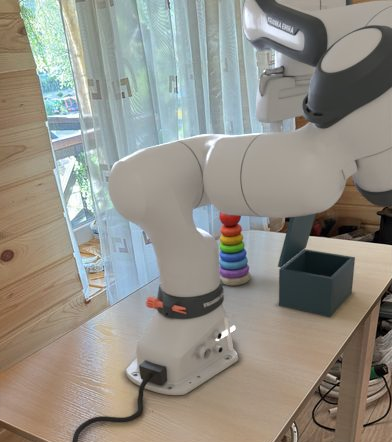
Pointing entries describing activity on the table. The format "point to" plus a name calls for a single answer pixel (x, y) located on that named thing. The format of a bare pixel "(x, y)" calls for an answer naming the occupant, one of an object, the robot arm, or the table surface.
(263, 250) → the table surface
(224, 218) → the stacking toy
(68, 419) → the table surface
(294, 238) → the lid
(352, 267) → the dark teal box
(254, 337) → the table surface
